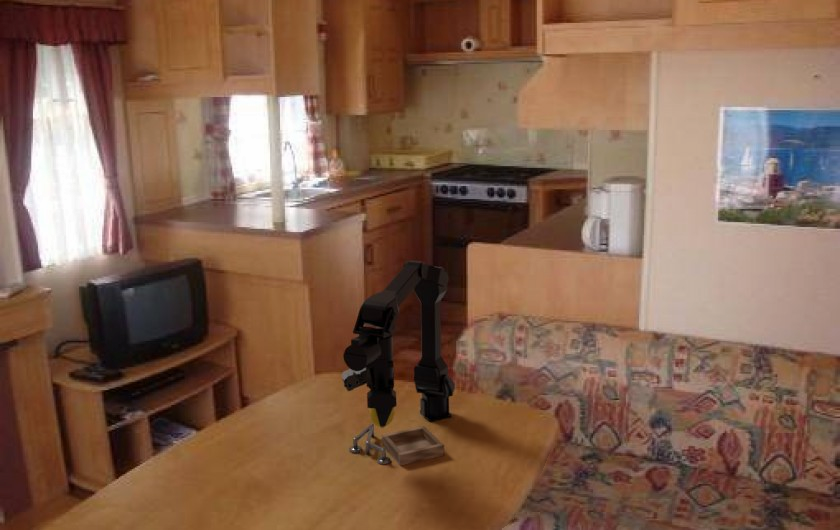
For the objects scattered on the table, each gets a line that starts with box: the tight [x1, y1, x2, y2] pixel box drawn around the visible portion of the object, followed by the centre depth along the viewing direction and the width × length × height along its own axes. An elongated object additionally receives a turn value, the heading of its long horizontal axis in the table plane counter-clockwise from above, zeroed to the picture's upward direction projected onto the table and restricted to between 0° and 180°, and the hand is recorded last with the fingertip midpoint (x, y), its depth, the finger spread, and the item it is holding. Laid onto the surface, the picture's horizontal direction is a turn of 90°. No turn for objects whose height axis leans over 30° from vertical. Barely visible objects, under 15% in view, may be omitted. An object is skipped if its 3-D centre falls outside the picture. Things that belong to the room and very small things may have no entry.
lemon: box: [369, 407, 395, 429], centre depth 176 cm, size 6×6×8 cm
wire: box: [348, 423, 392, 465], centre depth 183 cm, size 8×15×3 cm, turn 24°
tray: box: [381, 425, 445, 466], centre depth 183 cm, size 11×11×3 cm
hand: (382, 420), depth 177 cm, fingers closed on lemon, 5 cm apart
